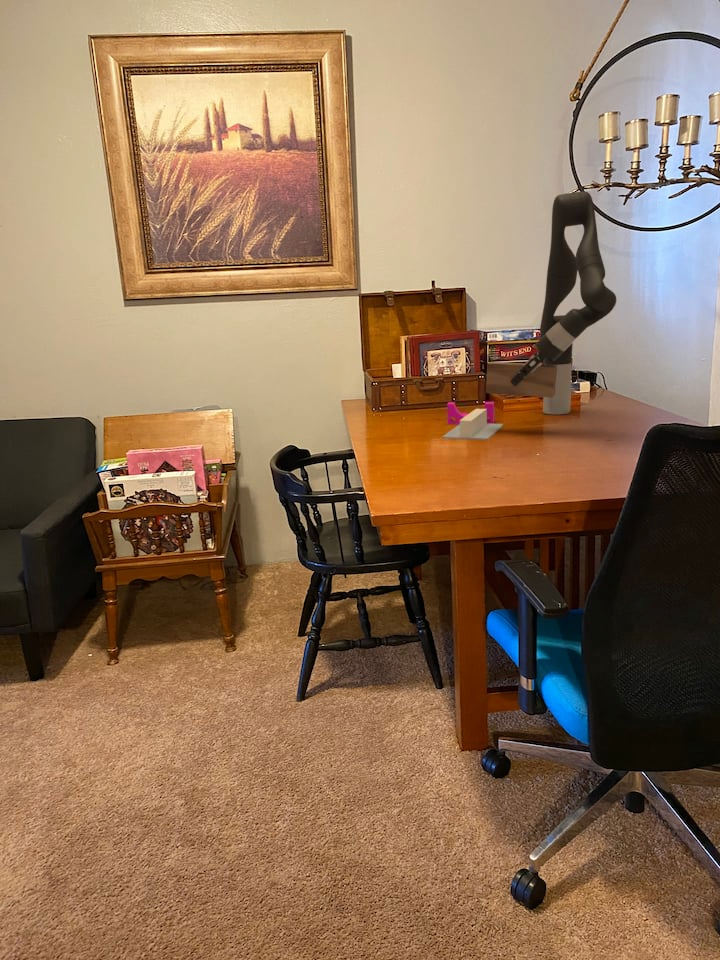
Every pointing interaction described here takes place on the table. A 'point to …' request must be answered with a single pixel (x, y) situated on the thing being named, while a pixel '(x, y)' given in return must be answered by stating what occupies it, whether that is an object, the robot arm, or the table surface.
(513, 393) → the beam
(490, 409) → the magenta curved piece
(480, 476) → the table surface
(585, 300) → the robot arm
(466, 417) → the fulcrum
